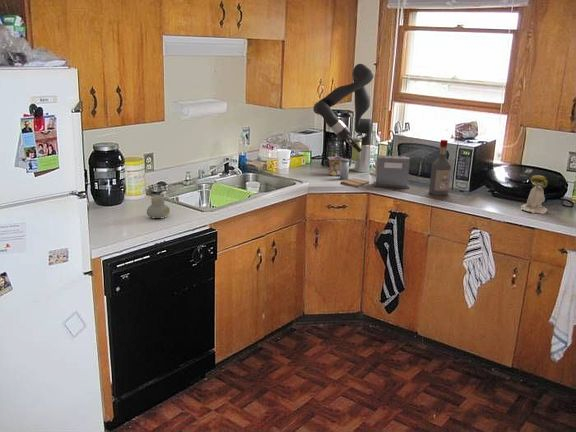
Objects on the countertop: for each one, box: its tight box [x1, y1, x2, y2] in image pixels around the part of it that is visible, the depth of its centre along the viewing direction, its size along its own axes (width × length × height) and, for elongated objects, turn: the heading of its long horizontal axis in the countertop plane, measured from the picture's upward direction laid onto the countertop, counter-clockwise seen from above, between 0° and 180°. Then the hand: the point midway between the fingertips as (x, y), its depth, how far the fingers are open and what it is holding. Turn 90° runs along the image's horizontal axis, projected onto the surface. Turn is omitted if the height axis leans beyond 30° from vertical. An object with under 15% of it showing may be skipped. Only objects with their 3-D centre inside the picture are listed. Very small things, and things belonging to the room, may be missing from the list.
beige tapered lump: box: [520, 174, 548, 215], centre depth 305 cm, size 12×13×18 cm
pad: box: [340, 177, 370, 188], centre depth 351 cm, size 12×12×1 cm
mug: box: [323, 156, 344, 177], centre depth 369 cm, size 12×9×11 cm
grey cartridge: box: [339, 158, 350, 181], centre depth 360 cm, size 5×5×12 cm
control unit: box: [373, 154, 411, 189], centre depth 346 cm, size 9×20×17 cm, turn 84°
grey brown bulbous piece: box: [146, 194, 171, 219], centre depth 281 cm, size 11×8×10 cm
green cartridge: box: [351, 137, 362, 162], centre depth 345 cm, size 5×5×12 cm
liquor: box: [428, 139, 452, 196], centre depth 331 cm, size 9×9×30 cm
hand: (359, 150), depth 345 cm, fingers closed on green cartridge, 5 cm apart
